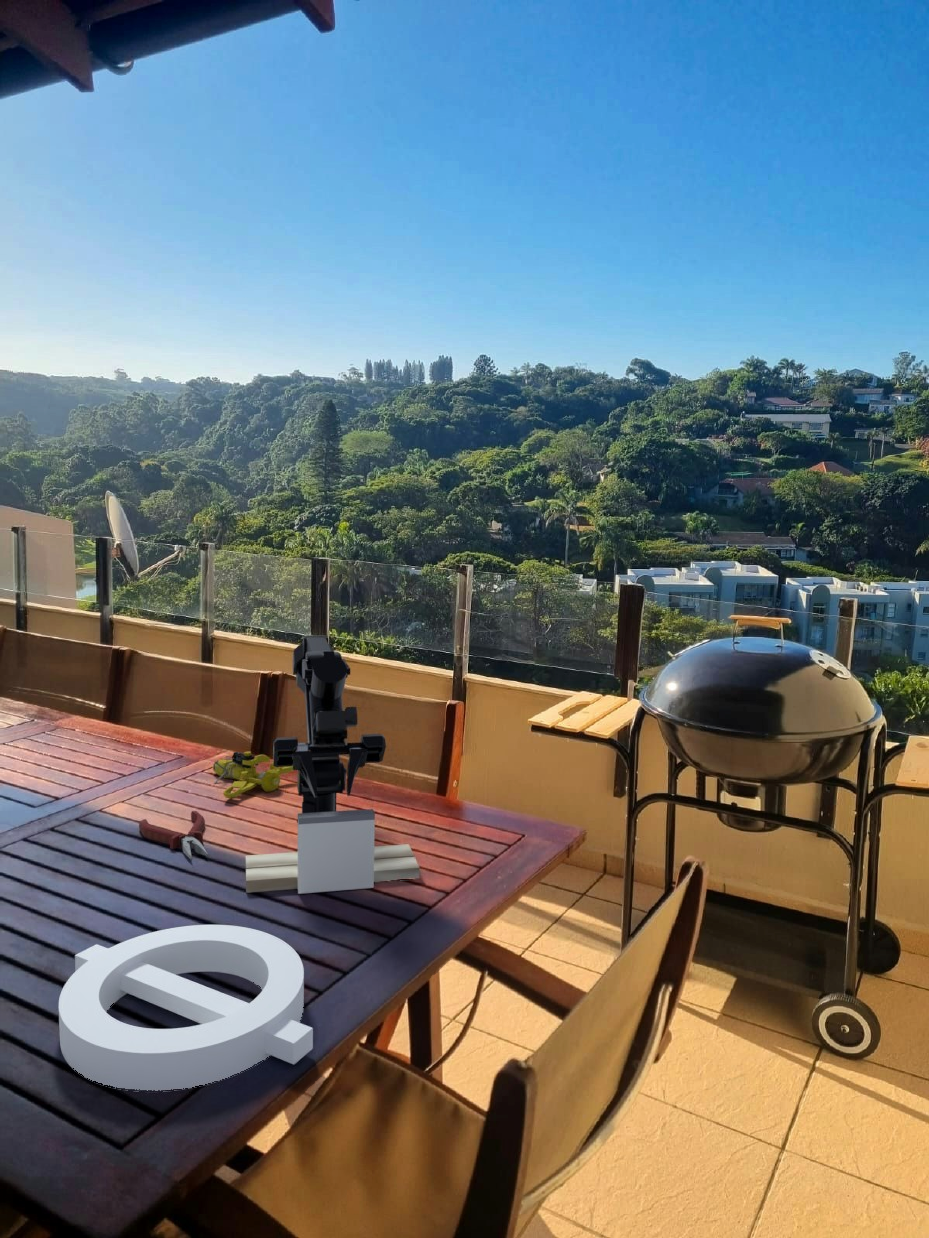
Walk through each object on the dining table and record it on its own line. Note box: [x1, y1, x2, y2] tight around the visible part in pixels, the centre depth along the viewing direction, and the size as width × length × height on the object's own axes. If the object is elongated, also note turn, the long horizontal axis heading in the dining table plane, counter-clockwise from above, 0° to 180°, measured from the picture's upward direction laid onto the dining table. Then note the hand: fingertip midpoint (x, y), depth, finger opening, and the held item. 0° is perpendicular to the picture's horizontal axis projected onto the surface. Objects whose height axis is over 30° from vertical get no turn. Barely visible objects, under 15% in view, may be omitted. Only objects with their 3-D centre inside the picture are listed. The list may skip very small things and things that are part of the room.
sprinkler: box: [212, 751, 295, 799], centre depth 190 cm, size 19×8×20 cm
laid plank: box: [245, 843, 421, 894], centre depth 148 cm, size 10×28×2 cm, turn 104°
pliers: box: [138, 810, 209, 861], centre depth 159 cm, size 12×20×3 cm, turn 33°
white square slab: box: [297, 808, 376, 895], centre depth 141 cm, size 2×12×12 cm, turn 104°
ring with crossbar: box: [58, 924, 314, 1091], centre depth 107 cm, size 28×28×5 cm
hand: (332, 795), depth 146 cm, fingers open, 5 cm apart
